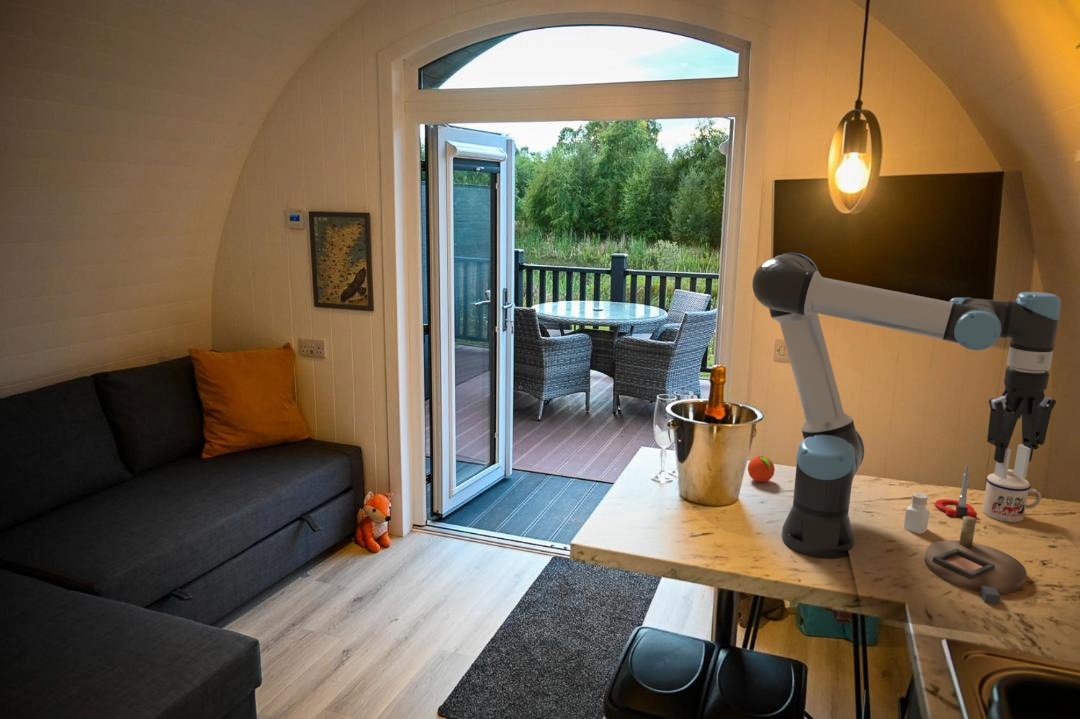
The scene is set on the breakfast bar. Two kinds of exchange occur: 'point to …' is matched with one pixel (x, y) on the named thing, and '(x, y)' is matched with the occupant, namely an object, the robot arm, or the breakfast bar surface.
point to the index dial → (974, 563)
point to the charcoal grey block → (990, 595)
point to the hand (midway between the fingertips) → (1009, 475)
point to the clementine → (761, 469)
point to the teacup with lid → (1008, 497)
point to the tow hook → (961, 505)
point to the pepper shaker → (917, 514)
